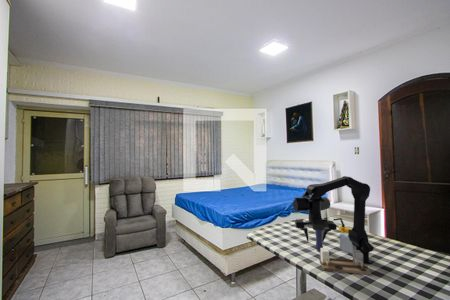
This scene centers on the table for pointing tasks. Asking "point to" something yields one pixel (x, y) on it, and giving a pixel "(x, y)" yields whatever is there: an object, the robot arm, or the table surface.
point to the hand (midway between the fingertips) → (315, 241)
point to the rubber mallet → (318, 232)
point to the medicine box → (346, 243)
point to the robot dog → (343, 227)
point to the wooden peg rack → (347, 264)
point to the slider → (324, 255)
